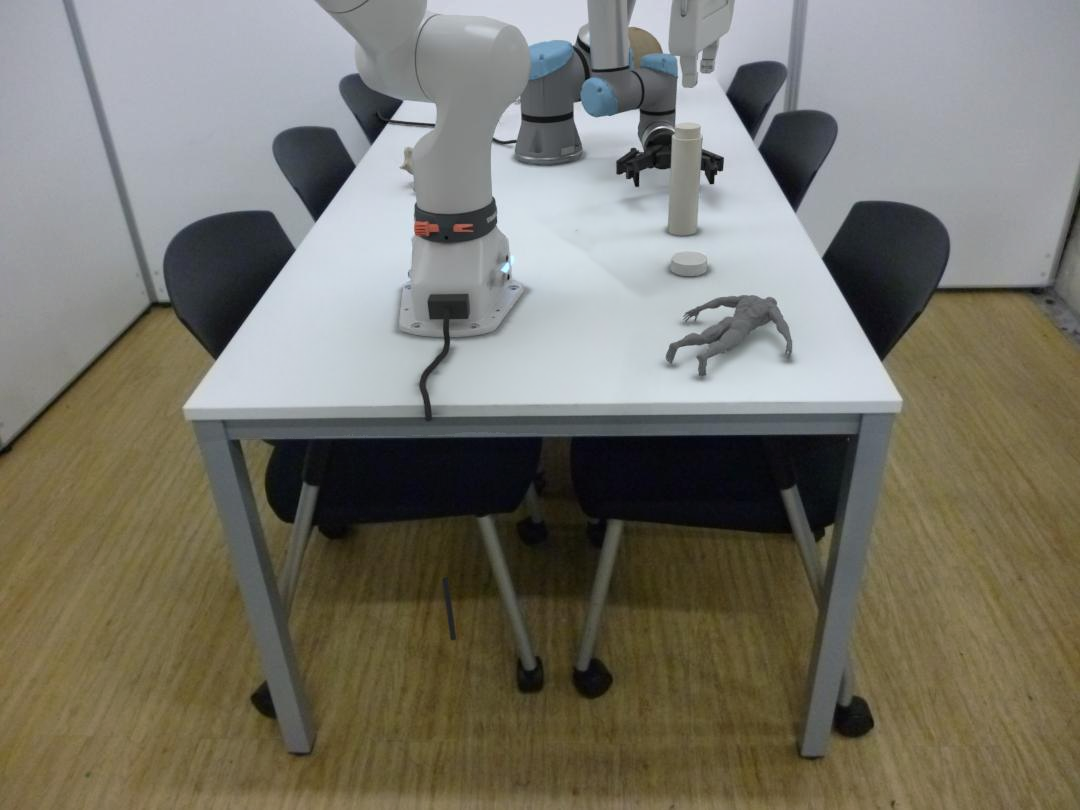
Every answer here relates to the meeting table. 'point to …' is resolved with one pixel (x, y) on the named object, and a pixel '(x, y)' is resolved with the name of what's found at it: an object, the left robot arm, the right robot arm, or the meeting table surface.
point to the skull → (642, 44)
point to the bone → (408, 161)
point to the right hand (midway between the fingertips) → (674, 178)
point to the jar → (685, 179)
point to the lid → (689, 263)
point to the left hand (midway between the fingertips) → (698, 79)
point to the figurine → (732, 326)
